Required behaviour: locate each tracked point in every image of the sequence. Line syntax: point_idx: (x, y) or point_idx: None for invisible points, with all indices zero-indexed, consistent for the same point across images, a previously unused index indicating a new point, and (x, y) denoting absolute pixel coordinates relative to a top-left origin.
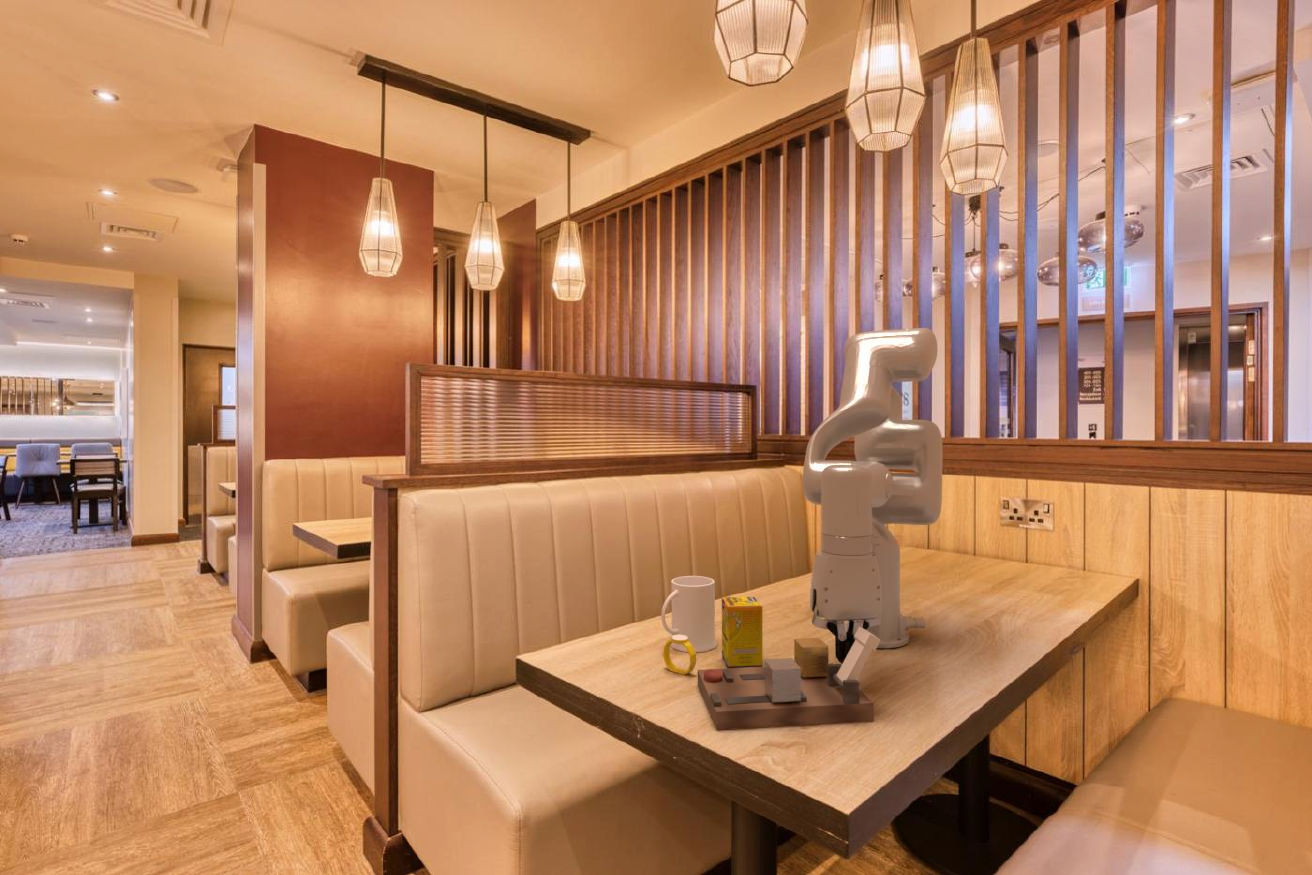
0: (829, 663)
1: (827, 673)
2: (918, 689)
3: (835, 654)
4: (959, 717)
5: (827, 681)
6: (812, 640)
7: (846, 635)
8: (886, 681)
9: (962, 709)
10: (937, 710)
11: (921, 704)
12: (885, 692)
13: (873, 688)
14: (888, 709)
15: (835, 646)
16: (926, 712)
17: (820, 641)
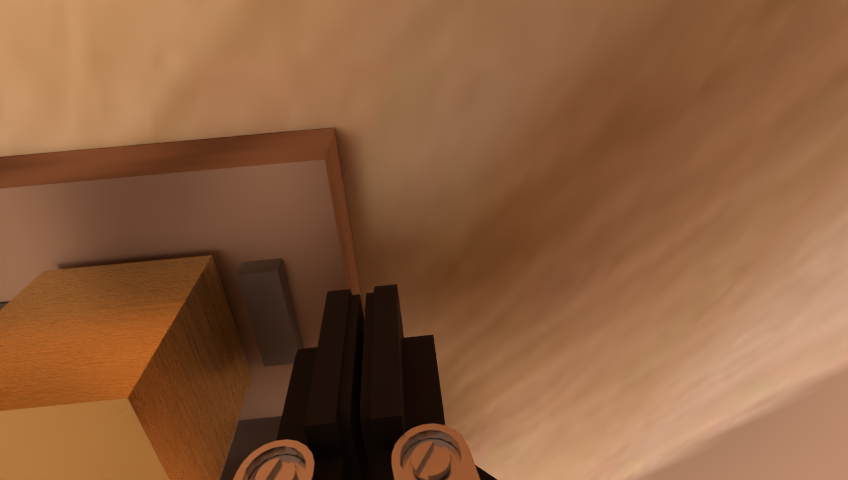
0: (300, 162)
1: (224, 473)
2: (702, 262)
3: (297, 351)
4: (674, 450)
5: (235, 435)
6: (65, 452)
7: (377, 462)
8: (613, 172)
9: (728, 408)
10: (640, 415)
11: (617, 379)
12: (539, 288)
13: (505, 249)
14: (476, 412)
15: (287, 399)
16: (594, 426)
17: (140, 469)
